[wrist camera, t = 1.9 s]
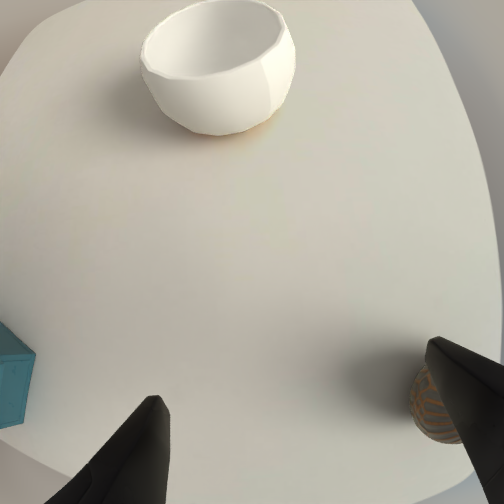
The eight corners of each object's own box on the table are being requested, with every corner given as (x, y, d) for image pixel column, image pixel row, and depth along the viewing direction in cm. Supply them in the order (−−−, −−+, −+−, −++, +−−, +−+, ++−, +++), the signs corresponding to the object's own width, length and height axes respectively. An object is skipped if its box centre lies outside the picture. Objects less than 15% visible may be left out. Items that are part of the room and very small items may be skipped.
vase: (420, 336, 22) (480, 340, 13) (478, 362, 20) (543, 370, 12) (384, 415, 20) (427, 455, 12) (445, 434, 19) (499, 469, 11)
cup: (239, 50, 30) (225, -18, 20) (322, 106, 27) (329, 29, 18) (149, 111, 29) (110, 49, 20) (220, 184, 26) (187, 117, 17)
